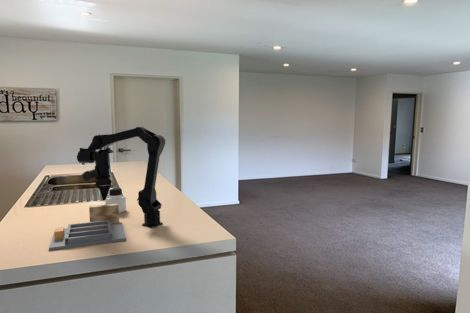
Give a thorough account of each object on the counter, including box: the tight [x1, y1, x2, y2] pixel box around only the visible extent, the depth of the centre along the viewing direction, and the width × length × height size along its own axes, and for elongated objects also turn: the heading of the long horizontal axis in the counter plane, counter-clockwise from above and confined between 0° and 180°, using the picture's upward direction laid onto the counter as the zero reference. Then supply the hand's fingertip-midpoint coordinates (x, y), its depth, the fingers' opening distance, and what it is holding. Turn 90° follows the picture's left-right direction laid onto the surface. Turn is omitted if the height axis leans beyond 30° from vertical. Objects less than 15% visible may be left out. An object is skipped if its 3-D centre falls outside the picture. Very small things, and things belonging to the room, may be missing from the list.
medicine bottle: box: [104, 187, 127, 214], centre depth 169 cm, size 7×7×12 cm
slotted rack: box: [48, 220, 127, 251], centre depth 133 cm, size 26×22×4 cm
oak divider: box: [88, 204, 120, 224], centre depth 151 cm, size 12×3×8 cm, turn 113°
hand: (103, 198), depth 150 cm, fingers open, 9 cm apart
